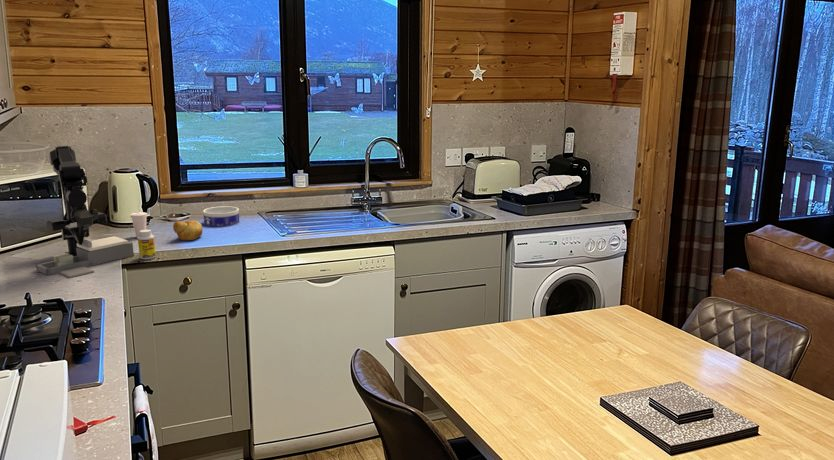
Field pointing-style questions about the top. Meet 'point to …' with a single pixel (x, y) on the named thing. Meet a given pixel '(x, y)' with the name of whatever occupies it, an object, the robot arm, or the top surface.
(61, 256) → the block
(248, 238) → the top surface
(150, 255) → the supplement bottle
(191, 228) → the bread roll
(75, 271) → the pad
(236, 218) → the dog bowl
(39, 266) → the grey long stepped bar
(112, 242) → the cover
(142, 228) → the smoothie
